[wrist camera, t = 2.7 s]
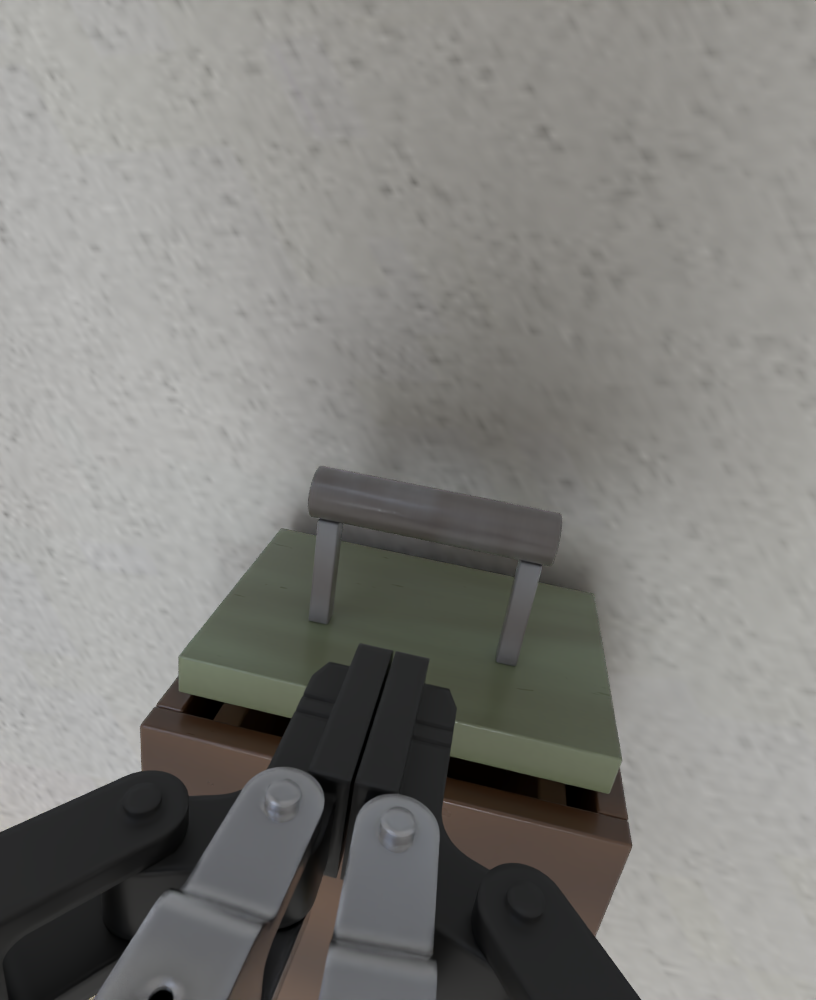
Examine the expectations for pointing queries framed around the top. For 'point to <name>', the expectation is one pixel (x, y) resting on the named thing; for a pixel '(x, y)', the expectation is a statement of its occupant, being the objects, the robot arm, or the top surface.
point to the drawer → (423, 631)
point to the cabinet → (465, 814)
